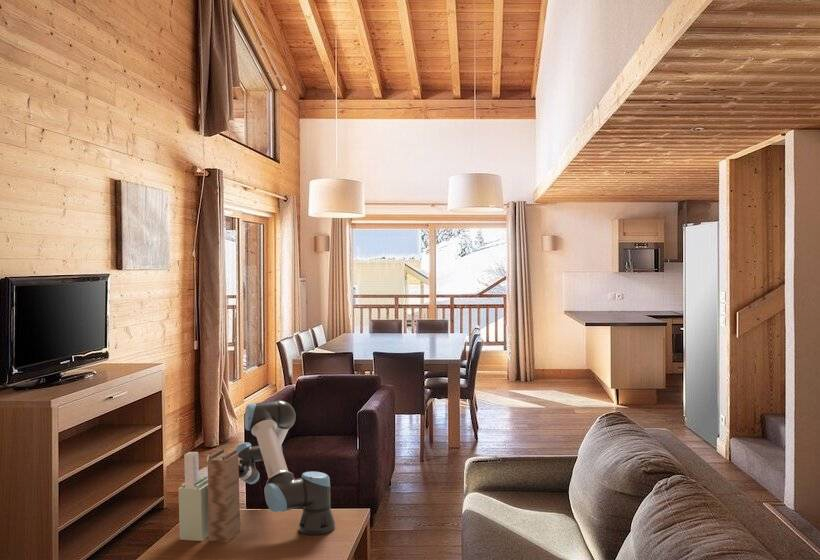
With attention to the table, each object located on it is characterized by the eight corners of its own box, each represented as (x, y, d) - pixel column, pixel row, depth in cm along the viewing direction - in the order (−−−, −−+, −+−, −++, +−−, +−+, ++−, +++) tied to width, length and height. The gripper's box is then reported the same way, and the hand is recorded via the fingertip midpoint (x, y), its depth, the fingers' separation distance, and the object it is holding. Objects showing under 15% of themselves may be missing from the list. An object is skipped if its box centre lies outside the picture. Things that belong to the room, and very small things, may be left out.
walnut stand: (240, 531, 272) (238, 449, 272) (227, 542, 261) (225, 456, 261) (222, 530, 274) (220, 448, 274) (209, 540, 263) (207, 456, 263)
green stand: (216, 529, 275) (215, 476, 275) (202, 541, 263) (200, 485, 263) (195, 528, 277) (193, 475, 277) (179, 539, 265) (178, 484, 265)
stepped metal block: (209, 473, 284) (209, 441, 284) (218, 474, 283) (217, 442, 283) (185, 488, 264) (184, 454, 264) (194, 489, 264) (193, 454, 264)
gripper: (263, 479, 304) (245, 468, 286) (214, 476, 309) (194, 466, 291) (266, 462, 308) (249, 451, 290) (218, 461, 313) (198, 449, 295)
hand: (221, 458), depth 290 cm, fingers open, 13 cm apart
